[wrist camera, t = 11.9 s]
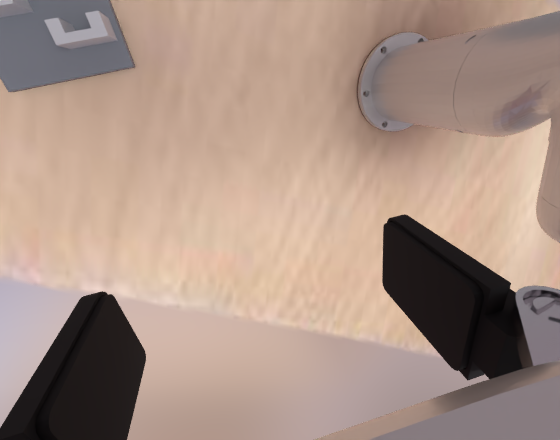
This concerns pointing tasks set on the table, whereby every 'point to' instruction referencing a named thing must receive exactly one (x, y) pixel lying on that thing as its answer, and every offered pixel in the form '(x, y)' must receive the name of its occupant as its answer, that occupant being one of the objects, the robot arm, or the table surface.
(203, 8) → the table surface
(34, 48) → the board
